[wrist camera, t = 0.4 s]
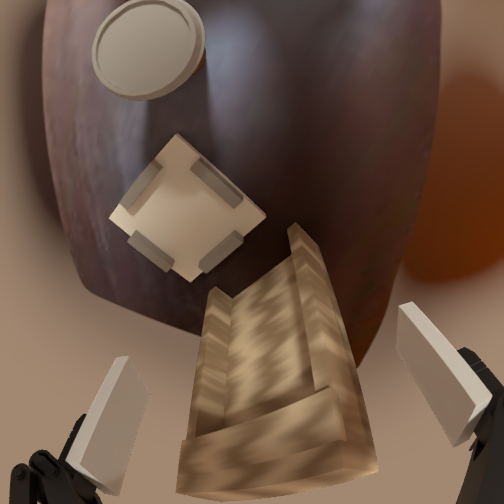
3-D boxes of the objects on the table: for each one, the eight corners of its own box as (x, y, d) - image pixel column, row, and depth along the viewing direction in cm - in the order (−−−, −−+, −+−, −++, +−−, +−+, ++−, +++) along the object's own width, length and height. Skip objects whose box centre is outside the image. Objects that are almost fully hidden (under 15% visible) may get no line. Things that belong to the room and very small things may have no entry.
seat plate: (177, 132, 31) (171, 136, 29) (265, 214, 37) (266, 223, 35) (111, 215, 37) (104, 223, 35) (191, 278, 43) (188, 289, 41)
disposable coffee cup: (185, 109, 30) (151, 124, 20) (124, 68, 26) (68, 70, 16) (238, 45, 26) (230, 25, 16) (172, 5, 22) (134, -25, 12)
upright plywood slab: (293, 219, 38) (343, 468, 12) (318, 245, 40) (379, 471, 15) (206, 289, 44) (175, 492, 19) (232, 308, 46) (220, 501, 21)
